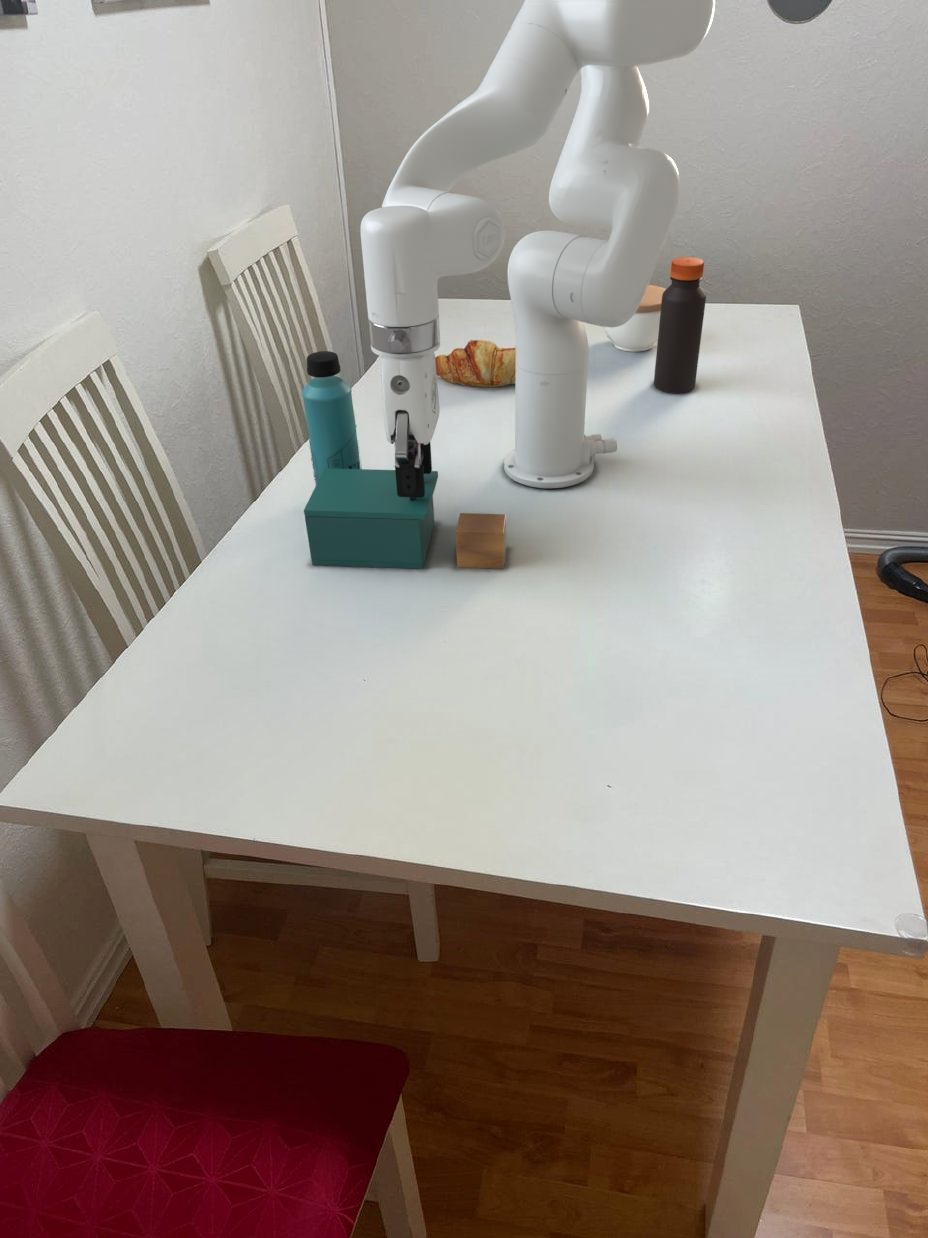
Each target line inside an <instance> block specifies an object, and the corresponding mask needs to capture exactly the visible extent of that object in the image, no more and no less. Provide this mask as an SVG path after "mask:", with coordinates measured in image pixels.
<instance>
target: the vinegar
mask: <svg viewBox="0 0 928 1238" xmlns="http://www.w3.org/2000/svg"><path fill="white" fill-rule="evenodd" d="M704 268H705V260H703V259H701V258H698V257H691V256H681V257H676V258H674V259H672V260H671V262H670V272H669V273H670V277H669V279H670V281H671V283H670V285H669V286H668V287H667V288H665V289H666V290H665V291H664V292H663V295H662V302H661V312H660V323H659V333H658V342H656V343H657V345H656V353H655V354H656V355H655V365H654V374H653V375H654V376H653V386H654V387H655V388H656V389H657V390H658V391H661V392H663V393H668V394H683V393H688V392H690V391H692V390H693V389H695V387H696V382H697V374H698V373H697V372H698V366H699V365H698V364H699V357H700V349H701V341H702V333H703V325H704V319H705V318H704V316H705V309H706V301H707V300H706V299H707V293H706V292H705V291H704V289H703V288H702V287H701V285H700V282H701V281H703V274H704Z"/></svg>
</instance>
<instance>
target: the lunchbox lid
mask: <svg viewBox="0 0 928 1238" xmlns="http://www.w3.org/2000/svg"><path fill="white" fill-rule="evenodd" d="M410 452H413V454H414V447H413V448H412V449H411V450H410ZM423 458H424V451H423V450H422V449H421V448H420V460H421V464H422V461H423ZM438 478H439V471H438V470H432V471H431V473H430V474H424V484H425V495H424V497H422V498H419V497H399V496H398V495H397V485H396V473H395V469H373V468H371V469H370V468H369V469H366V468H362V469H332V468H325V469H324V471H323V473H322V475H321V477H320V479H319V481H318V483H317V485H316V484H315V486H314V489H313V490H312V493H311V495H310V497H309V499H308V501H307V503H306V505H305V507H304V508H303V515H304V517H305V516H321V517H354V518H387V519H419V520H426V519H427V515H428V511H429V508H430V504H431V501H432V497H433V498H434V493H435V490H436V487H437V483H438V482H437V481H438Z"/></svg>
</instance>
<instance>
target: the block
mask: <svg viewBox="0 0 928 1238" xmlns="http://www.w3.org/2000/svg"><path fill="white" fill-rule="evenodd" d="M458 515H459V516H458V520H457V523H456V524H457V525H456V529H455V546H456V547H455V549H456V550H455V551H456V568H468V569H495V570H496V569H497V570H499V569H500V570H504V568H505V560H506V554H507V514H504V513H473V512H472V513H471V512H470V513H469V512H460V513H459V514H458Z"/></svg>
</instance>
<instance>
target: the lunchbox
mask: <svg viewBox="0 0 928 1238" xmlns="http://www.w3.org/2000/svg"><path fill="white" fill-rule="evenodd" d="M434 507H435V506H434V496H433V497H432V501H431V504H430V508H429V511H428V515H427V519H426V520H419V519H387V518H354V517H321V516H305V515H304V521H305V528H306V534H307V541H308V547H309V553H310V554H309V555H310V560H311V565H312V566H328V567H329V566H330V567H331V566H332V567H356V568H357V567H358V568H361V567H362V568H386V569H388V568H389V569H411V570H413V569H415V570H417V569H418V570H423V569H424V565H425V562H426V558H427V554H428V550H429V546H430V543H431V538H432V534H433V531H434V527H435V510H434Z"/></svg>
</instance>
